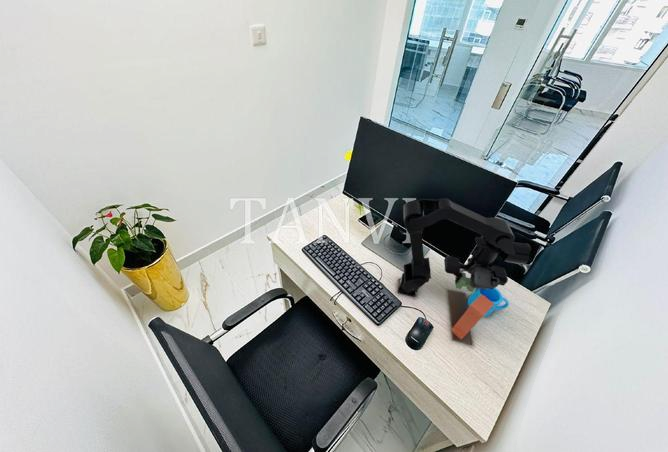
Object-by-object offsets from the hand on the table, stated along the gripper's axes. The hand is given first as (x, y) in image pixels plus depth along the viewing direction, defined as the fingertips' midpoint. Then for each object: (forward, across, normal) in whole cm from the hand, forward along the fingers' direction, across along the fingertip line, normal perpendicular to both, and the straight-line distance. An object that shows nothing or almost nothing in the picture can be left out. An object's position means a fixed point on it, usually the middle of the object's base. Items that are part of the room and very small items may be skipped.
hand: (464, 284), depth 90 cm
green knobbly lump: (+1, 0, 0) cm, 1 cm away
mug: (+8, +10, -2) cm, 13 cm away
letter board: (+8, 0, -8) cm, 11 cm away
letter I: (+7, 0, -13) cm, 15 cm away
